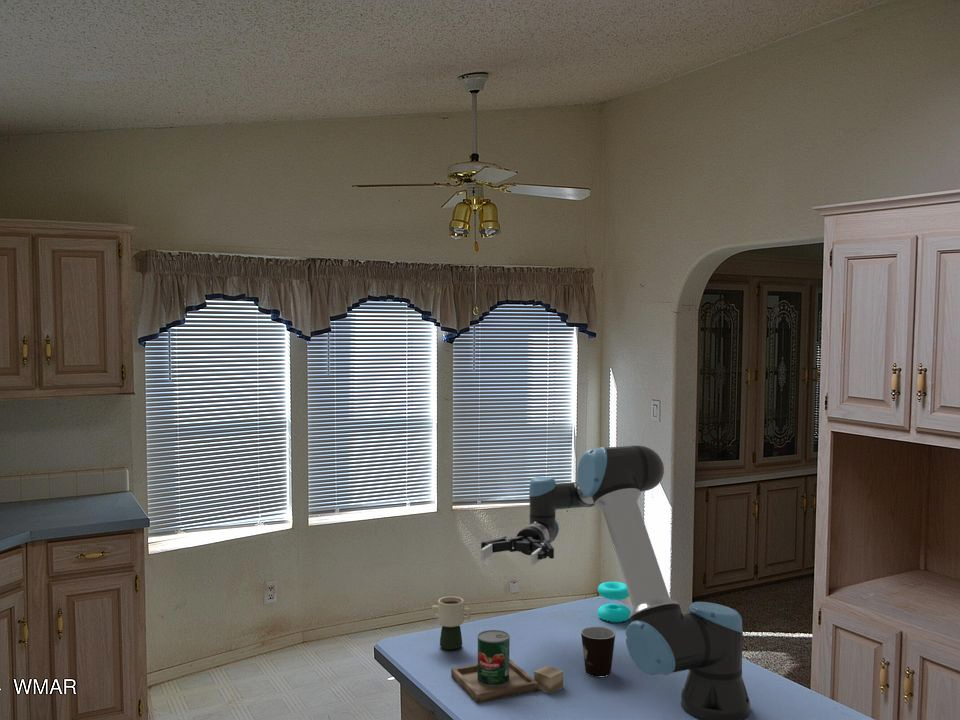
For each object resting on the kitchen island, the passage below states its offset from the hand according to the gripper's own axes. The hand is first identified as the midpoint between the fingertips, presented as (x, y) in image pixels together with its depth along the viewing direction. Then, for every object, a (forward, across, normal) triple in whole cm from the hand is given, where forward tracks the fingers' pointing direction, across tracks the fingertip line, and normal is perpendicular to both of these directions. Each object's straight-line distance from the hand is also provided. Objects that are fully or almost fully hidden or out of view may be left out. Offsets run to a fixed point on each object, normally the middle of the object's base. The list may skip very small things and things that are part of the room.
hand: (507, 557), depth 204 cm
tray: (+9, 0, +29) cm, 30 cm away
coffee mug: (-8, +22, +29) cm, 37 cm away
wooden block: (+6, +13, +29) cm, 32 cm away
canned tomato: (+9, 0, +28) cm, 30 cm away
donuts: (-48, +17, +29) cm, 58 cm away
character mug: (-8, -19, +29) cm, 36 cm away
